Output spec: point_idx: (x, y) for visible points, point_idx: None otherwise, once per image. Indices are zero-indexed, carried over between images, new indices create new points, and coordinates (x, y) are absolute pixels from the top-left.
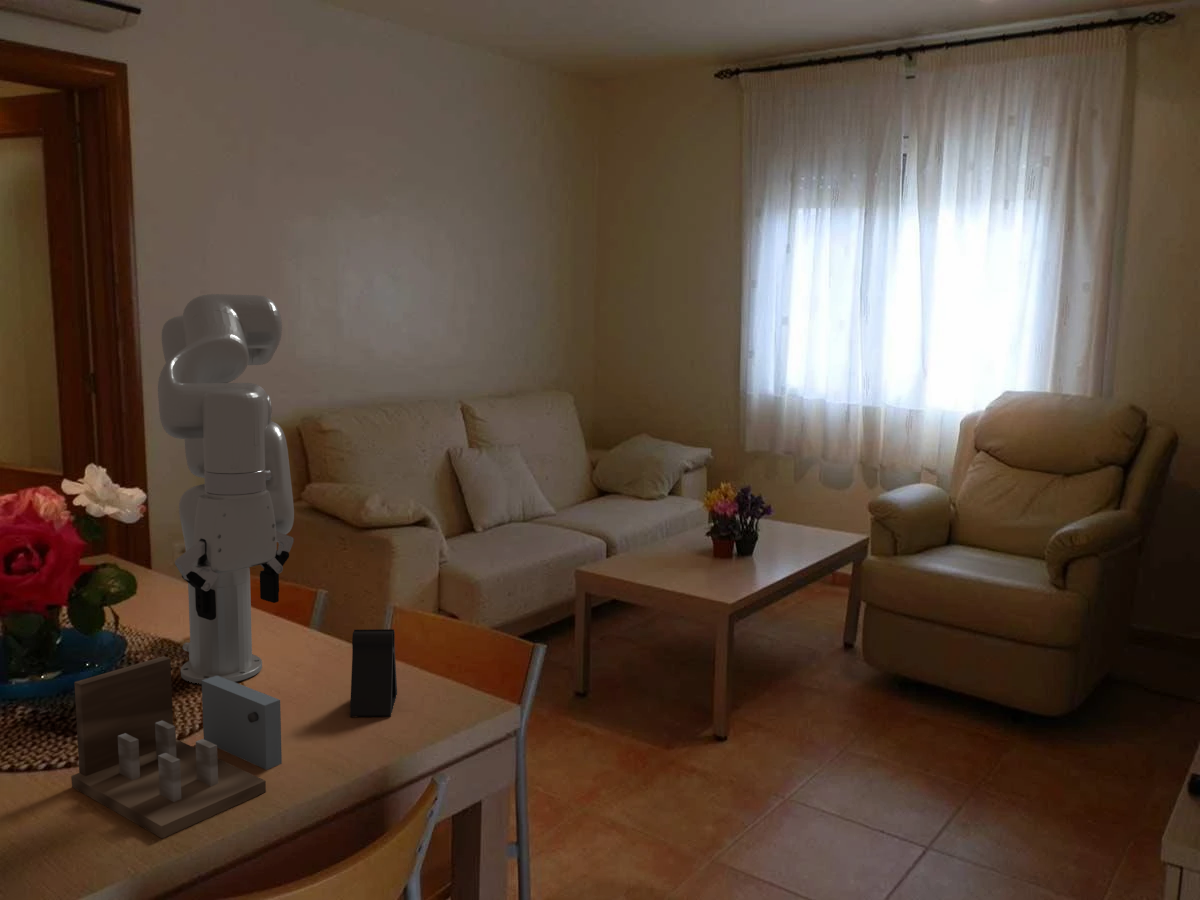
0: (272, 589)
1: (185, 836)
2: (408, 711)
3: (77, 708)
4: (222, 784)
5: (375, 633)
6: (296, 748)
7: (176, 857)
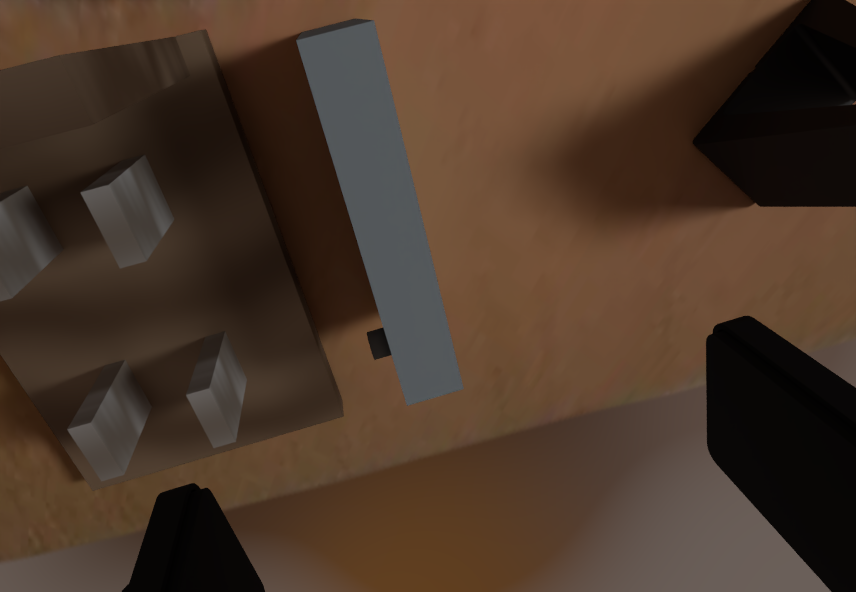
0: (772, 515)
1: (147, 481)
2: None
3: None
4: (253, 389)
5: None
6: (491, 239)
7: (119, 534)
